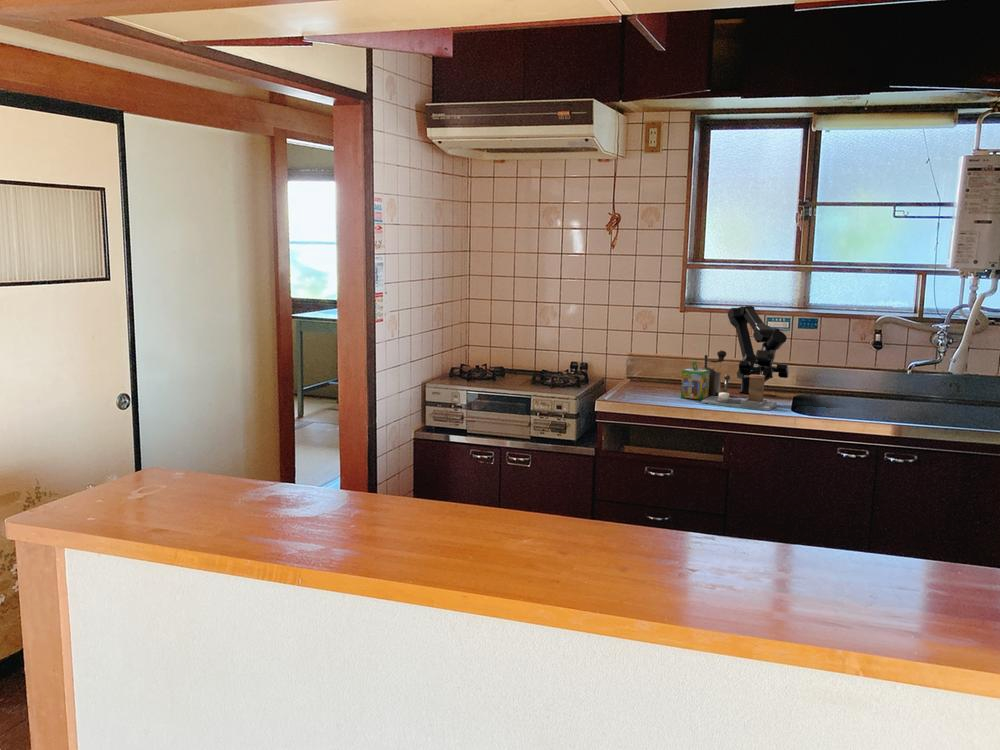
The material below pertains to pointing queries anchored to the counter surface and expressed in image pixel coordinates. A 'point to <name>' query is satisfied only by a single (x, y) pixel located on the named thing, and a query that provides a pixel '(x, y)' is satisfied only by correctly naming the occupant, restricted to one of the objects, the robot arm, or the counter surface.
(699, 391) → the chalk box
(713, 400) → the control board
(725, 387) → the dark gray metallic lever
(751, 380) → the brown tall rectangular block
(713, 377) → the grey knobbed device
